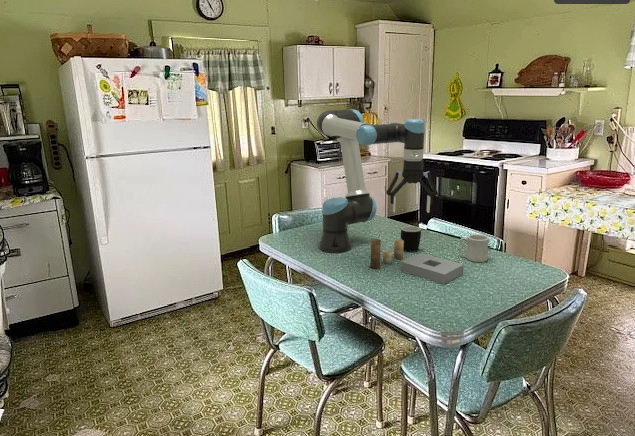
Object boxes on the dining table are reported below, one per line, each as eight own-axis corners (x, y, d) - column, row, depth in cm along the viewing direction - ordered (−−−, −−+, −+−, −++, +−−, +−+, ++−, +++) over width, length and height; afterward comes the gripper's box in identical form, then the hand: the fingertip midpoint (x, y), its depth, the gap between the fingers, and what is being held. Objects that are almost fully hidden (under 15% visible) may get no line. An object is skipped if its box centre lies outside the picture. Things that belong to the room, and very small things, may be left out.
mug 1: (424, 251, 210) (425, 229, 207) (408, 254, 206) (408, 232, 204) (408, 243, 220) (409, 223, 218) (393, 246, 217) (393, 226, 214)
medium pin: (392, 257, 202) (392, 240, 200) (397, 255, 205) (398, 238, 203) (399, 260, 199) (400, 242, 197) (405, 257, 202) (405, 240, 200)
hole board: (400, 270, 187) (401, 261, 186) (420, 262, 196) (420, 253, 195) (444, 284, 173) (444, 274, 172) (463, 274, 182) (463, 264, 181)
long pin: (368, 267, 191) (368, 240, 188) (374, 265, 194) (375, 238, 191) (376, 269, 189) (376, 242, 186) (382, 267, 191) (382, 240, 188)
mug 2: (488, 257, 200) (490, 235, 198) (486, 263, 193) (488, 241, 190) (459, 253, 206) (460, 232, 203) (456, 260, 198) (457, 238, 195)
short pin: (380, 262, 197) (380, 251, 195) (386, 260, 199) (386, 249, 198) (388, 264, 194) (388, 253, 193) (393, 262, 197) (394, 251, 195)
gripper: (381, 161, 177) (380, 214, 183) (447, 161, 175) (444, 214, 181) (380, 158, 184) (379, 209, 190) (443, 158, 183) (440, 209, 188)
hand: (410, 211), depth 186 cm, fingers open, 13 cm apart
